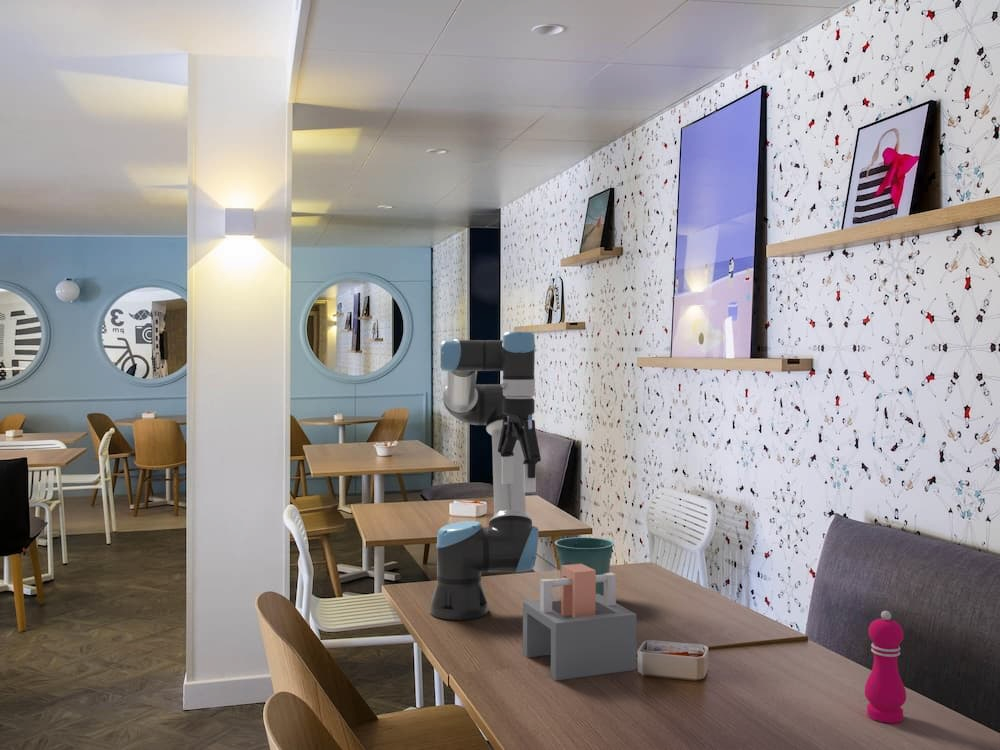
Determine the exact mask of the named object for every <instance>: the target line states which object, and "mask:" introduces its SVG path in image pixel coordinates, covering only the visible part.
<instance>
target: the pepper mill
mask: <svg viewBox="0 0 1000 750" xmlns="http://www.w3.org/2000/svg"><path fill="white" fill-rule="evenodd" d="M880 617H881V618H876V619H875V620H872V622H870V625H869V626H868V637H869V638H870V640H871V641H872V643H871V653H873V664H872V669H871V671H870V673H869V675H868V677H867V679H866V682H865V684H864V685H865V686H864V697H865V698H866V700H868V702H869V703H868V704H867V705H866V714H867V717H868V718H869V719H871V718H872V719H871V720H873V719H874V721H875V720H877V721H876V722H879V721H881V722H880V723H883V722H886V723H885V724H899V723H901V722H903V720H904V709H903V708H902V706H903V705H904V704H905V703H906V701H907V691H906V687H905V685H904V683H903V681H902V678H901V676H900V673H899V672H900V671H899V666H898V658H899V657H898V656H900V655H901V652H900V651H901V647H900V644H901V643H902V641H904V630H903V628H902V626H901V625H900V624H899V622H897V621H895V620H893V619H892V614H891V611H888V610H883V611H882V612H881V614H880ZM898 722H899V723H898Z"/></svg>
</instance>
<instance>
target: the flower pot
mask: <svg viewBox="0 0 1000 750" xmlns="http://www.w3.org/2000/svg"><path fill="white" fill-rule="evenodd" d="M554 546H556V551H557V553H556V554H557V558H558V562H559V572H560V573H559V575H560V576H561V565H571V564H583V565H585V566H588V567H590V568H592V569H594V570H596V575H603V574H604V573H610V566H611V559H612V556H613V555H612V553H613V547H614V546H615V542H614V541H613V540H610V539H608V538H607V539H606V538H601V537H587V536H586V537H585V536H582V537H581V536H580V537H579V536H578V537H577V536H575V537H567V538H561V539H558V540H556V541H554ZM596 594H600V595H602V596H604V582H597V583H596Z"/></svg>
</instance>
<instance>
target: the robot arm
mask: <svg viewBox="0 0 1000 750" xmlns="http://www.w3.org/2000/svg"><path fill="white" fill-rule="evenodd" d="M535 351H536V342H535V334H534V333H533V332H532V331H505V332H504V333H503V336H502V339H501V340H500V339H499V340H498V339H497V340H496V339H494V340H493V339H491V340H490V339H488V340H485V339H483V340H482V339H476V340H475V339H474V340H473V339H472V340H471V339H451V340H450V339H449V340H443V341H441V342H440V352H439V354H440V356H439V357H440V362H439V363H440V369H441V371H446V372H447V376H446V377H447V381H446V383H447V385H446V386H445V388H444V390H443V393H442V394H443V395H442V396H443V397H442V400H443V405H444V407H445V409H446V410H447V411H448V413H449V415H452V417H454V418H455V419H456V420H458V421H460V422H462V423H465V424H469V425H474V426H485V430H486V432H487V433H488V434H489V435H490V436H491V447H492V450H491V451H492V453H491V454H492V478H493V479H492V484H493V485H492V486H493V488H492V489H493V514H494V515H493V517H491V518H490V519H489V521H488V527H486V526H485V527H483V526H482V523H481V522H480V521H477V520H465V521H457V522H453V523H448V524H446V525H444V526H442V527H440V528H439V530H438V531H437V534H436V535H437V537H436V538H437V539H436V545H435V547H436V548H437V549H436V550H437V551H436V562H437V563H436V585H435V588H434V591H433V593H432V597H431V601H430V604H429V605H430V607H429V608H430V609H429V610H430V611H429V612H430V614H431V615H432V616H433V617H436V618H439V619H444V620H452V621H453V620H454V621H455V620H457V621H458V620H459V621H460V620H461V621H463V620H472V619H477V618H481V617H483V616H486V615H487V614H488V611H489V610H488V609H489V603H488V601H487V596H486V593H485V591H484V587H483V584H482V573H516V574H517V573H521V572H530V571H532V570H533V569H534V567H535V566H536V560H537V553H538V545H539V544H538V542H539V527H538V526H535V525H534V526H533V519H532V518H531V517H530V516H529V515H527V508H526V507H527V506H526V505H527V503H526V493H536V492H537V464H538V463H539V462H541V460H542V459H541V452H540V447H539V443H538V438H537V437H538V436H537V432H536V421H535V419H533V414H535V412H536V411H535V408H536V407H535V401H536V399H534V398H533V397H534V396H535V394H536V379H535V365H536V362H535V361H536V360H535V359H536V358H535V356H536V355H535ZM499 371H500V372H501V371H502V383H501V384H494V383H491V384H489V383H488V384H483V383H482V384H480V383H478V384H477V376H478V372H499Z"/></svg>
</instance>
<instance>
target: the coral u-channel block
mask: <svg viewBox="0 0 1000 750" xmlns="http://www.w3.org/2000/svg"><path fill="white" fill-rule="evenodd" d="M561 578H569V579H571V580H573V584H572V585H566V586H560V588H561V589H560V593H561V594H560V598H561V615H563V616H567V615H572V618H574V617H583V616H592V615H596V570H594V569H592V568H590V567H588V566H585V565H583V564H571V565H561V575H560V579H561Z"/></svg>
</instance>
